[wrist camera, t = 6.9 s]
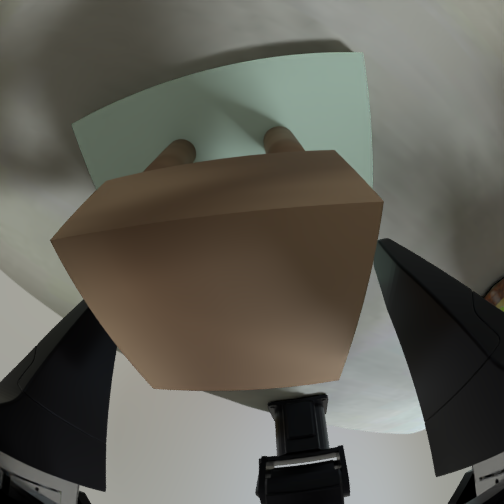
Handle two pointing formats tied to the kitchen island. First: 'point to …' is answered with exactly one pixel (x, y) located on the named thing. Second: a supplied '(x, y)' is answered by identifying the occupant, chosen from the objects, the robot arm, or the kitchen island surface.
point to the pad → (236, 114)
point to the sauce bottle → (496, 295)
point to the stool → (228, 265)
